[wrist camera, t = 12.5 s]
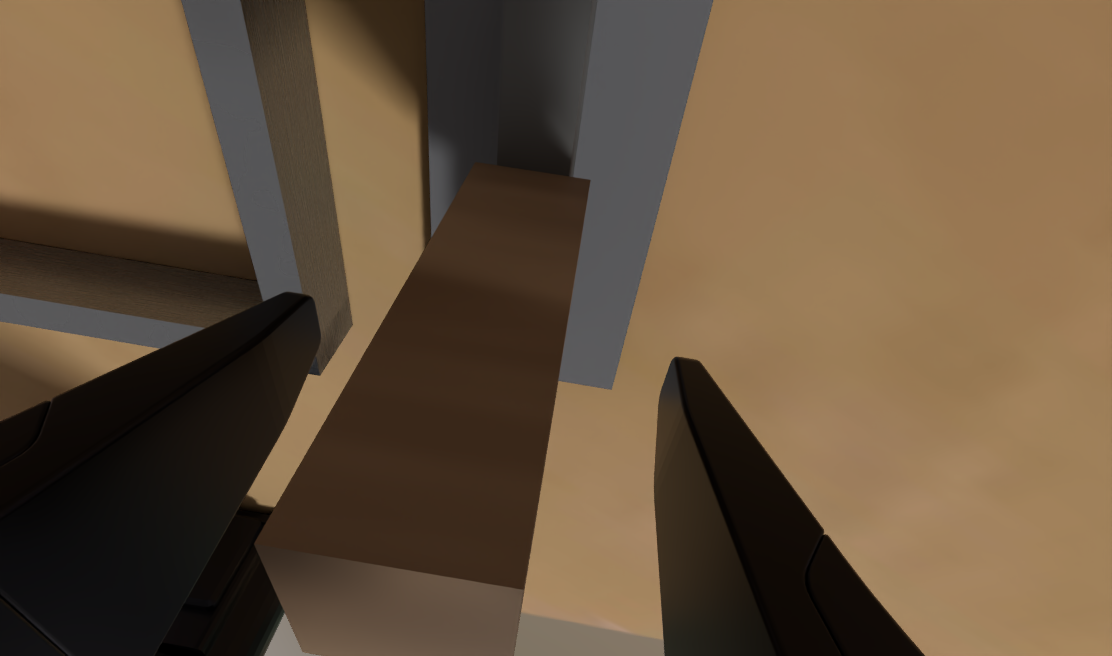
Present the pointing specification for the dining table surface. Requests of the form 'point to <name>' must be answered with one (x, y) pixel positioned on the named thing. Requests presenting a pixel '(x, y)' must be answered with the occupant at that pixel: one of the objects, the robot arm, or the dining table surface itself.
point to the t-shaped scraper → (452, 394)
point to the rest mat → (603, 146)
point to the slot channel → (260, 192)
